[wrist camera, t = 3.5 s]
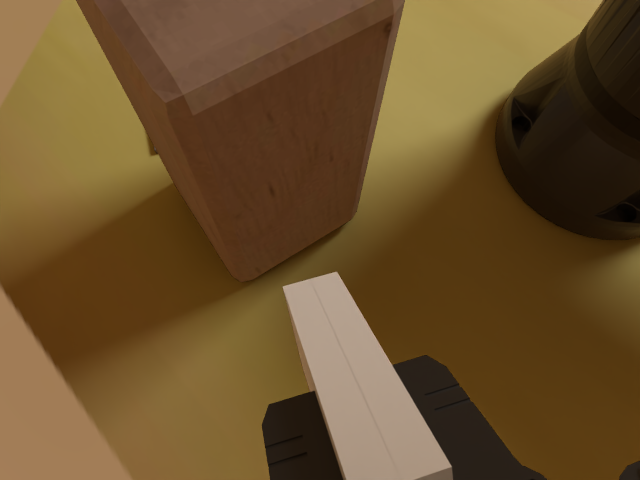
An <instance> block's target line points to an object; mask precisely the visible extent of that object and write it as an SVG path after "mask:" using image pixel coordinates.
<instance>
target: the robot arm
mask: <svg viewBox="0 0 640 480" xmlns="http://www.w3.org/2000/svg"><path fill="white" fill-rule="evenodd" d="M496 148H497V153H498V157H499V160H500V163H501V166H502V168H503V171H504V173H505V175H506V177H507V178H508V180H509V182H510V183H511V185H512V186H513V187H514V189H515V190H516V191H517V193H518V194H519V195H520V196H521V197H522V198H523V199H524V201H526V202H527V203H528V204H529V205H530V206H531V207H532V208H533V209H534V210H536V211H537V212H538V213H539V214H541V215H542V216H544V217H545V218H547V219H548V220H550V221H551V222H553V223H555V224H557V225H559V226H561V227H563V228H565V229H567V230H570V231H572V232H575V233H578V234H581V235H585V236H588V237H593V238H599V239H608V240H623V239H632V238H637V237H640V0H603V1H602V3H601V4H600V6H599V7H598V8H597V10H596V11H595V13H594V14H593V16H592V17H591V19H590V20H589V22H588V23H587V25H586V26H585V27H584V29H583V30H582V32H581V33H580V34H579V35H578V36H576V37H575V38H574V39H572V40H571V41H570V42H568V43H567V44H566V45H564V46H563V47H562V48H560V49H559V50H557V51H556V52H555V53H553V54H552V55H551V56H549V57H548V58H547V59H545V60H544V61H543V62H541V63H540V64H539V65H537V66H536V67H534V68H533V69H532V70H530V71H529V72H528V73H527V74H526V75H525V76H524V77H523V78H522V79H521V80H520V81H519V83H518V84H517V85H516V87H515V88H514V90H513V91H512V93H511V94H510V96H509V98H508V99H507V101H506V103H505V104H504V106H503V108H502V110H501V112H500V115H499V118H498V121H497V126H496ZM283 290H284V294H285V298H286V302H287V306H288V310H289V315H290V319H291V323H292V327H293V331H294V335H295V339H296V343H297V347H298V351H299V355H300V359H301V363H302V367H303V371H304V374H305V377H306V380H307V383H308V387H309V390H310V392H308V393H305V394H302V395H298V396H295V397H292V398H289V399H285V400H282V401H279V402H276V403H272V404H269V405H268V408H267V411H266V414H265V417H264V420H263V423H262V430H263V436H264V443H265V448H266V455H267V462H268V467H269V475H270V480H547V479H546V478H545V477H544V476H543V475H542V474H540V473H538V472H536V471H533V470H531V469H529V468H527V467H525V466H522V465H521V464H520V463H519V462H518V461H517V460H516V459H515V457H514V456H513V455H512V454H511V452H510V451H509V450H508V448H507V447H506V446H505V444H504V443H503V442H502V440H501V439H500V438H499V436H498V435H497V434H496V433H495V431H494V430H493V429H492V427H491V426H490V425H489V423H488V422H487V421H486V419H485V418H484V417H483V415H482V414H481V413H480V411H479V410H478V409H477V407H476V406H475V405H474V403H473V402H471V401H470V398H469V397H468V395H467V394H466V393H465V391H464V390H463V389H462V387H460V386H459V383H458V382H457V381H456V379H455V378H454V377H453V375H452V374H451V373H450V371H449V370H448V369H447V367H446V366H444V365H442V364H441V363H439V362H437V361H436V360H434V359H432V358H431V357H429V356H427V355H424V356H421V357H418V358H414V359H411V360H408V361H405V362H401V363H398V364H395V365H392V364H391V363H390V361H389V359H388V358H387V356H386V354H385V352H384V351H383V349H382V347H381V346H380V344H379V342H378V341H377V339H376V337H375V335H374V334H373V332H372V330H371V329H370V327H369V325H368V324H367V322H366V320H365V318H364V317H363V315H362V313H361V312H360V310H359V308H358V307H357V305H356V303H355V301H354V300H353V298H352V296H351V295H350V293H349V291H348V290H347V288H346V286H345V284H344V283H343V281H342V279H341V278H340V276H339V274H338V273H337V272H333V273H330V274H326V275H322V276H319V277H315V278H312V279H308V280H304V281H301V282H297V283H293V284H290V285H286V286H283ZM619 480H640V461H638V462H636V463H633V464H631V465H628V466H627V467H626V469H625V470H624V471H623V473H622V474H621V475H620V477H619Z"/></svg>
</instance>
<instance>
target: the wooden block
mask: <svg viewBox="0 0 640 480" xmlns="http://www.w3.org/2000/svg"><path fill="white" fill-rule="evenodd" d="M76 1H77V3H78V5H79V7H80V9H81V10H82V12H83V14H84V16H85V18H86V20H87V22H88V24H89V25H90V27H91V29H92V31H93V33H94V35H95V37H96V38H97V40H98V42H99V44H100V46H101V48H102V50H103V52H104V53H105V55H106V57H107V59H108V61H109V63H110V65H111V66H112V68H113V70H114V72H115V74H116V76H117V78H118V80H119V81H120V83H121V85H122V87H123V89H124V91H125V93H126V94H127V96H128V98H129V100H130V102H131V104H132V106H133V108H134V109H135V111H136V113H137V115H138V117H139V119H140V121H141V122H142V124H143V126H144V128H145V130H146V132H147V134H148V136H149V137H150V139H151V141H152V143H153V145H154V147H155V149H156V150H157V152H158V154H159V156H160V158H161V160H162V162H163V164H164V165H165V167H166V169H167V171H168V173H169V175H170V177H171V178H172V180H173V182H174V184H175V186H176V188H177V189H178V191H179V192H180V194H181V196H182V197H183V199H184V200H185V202H186V204H187V205H188V207H189V208H190V210H191V212H192V213H193V215H194V216H195V218H196V220H197V221H198V223H199V224H200V226H201V228H202V229H203V231H204V232H205V234H206V236H207V237H208V239H209V240H210V242H211V244H212V245H213V247H214V248H215V250H216V252H217V253H218V255H219V256H220V258H221V260H222V261H223V263H224V264H225V266H226V268H227V269H228V271H229V272H230V274H231V276H233V277H234V278H236V279H237V280H239V281H240V282H244V281H249V280H253V279H255V278H256V277H258V276H260V275H261V274H263V273H264V272H266V271H268V270H269V269H271V268H273V267H274V266H276V265H278V264H279V263H281V262H283V261H284V260H286V259H287V258H289V257H291V256H292V255H294V254H296V253H297V252H299V251H301V250H302V249H304V248H306V247H307V246H309V245H310V244H312V243H314V242H315V241H317V240H319V239H320V238H322V237H324V236H325V235H327V234H328V233H330V232H332V231H333V230H335V229H337V228H338V227H340V226H342V225H343V224H345V223H347V222H348V221H350V220H351V219H352V217H353V216H354V215H355V213H356V212H357V208H358V203H359V199H360V195H361V190H362V186H363V181H364V177H365V173H366V168H367V164H368V160H369V155H370V151H371V147H372V142H373V138H374V133H375V129H376V125H377V120H378V116H379V112H380V107H381V103H382V98H383V94H384V90H385V85H386V81H387V77H388V72H389V68H390V64H391V59H392V55H393V50H394V46H395V42H396V37H397V33H398V29H399V24H400V20H401V16H402V11H403V7H404V2H405V0H76Z"/></svg>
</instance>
